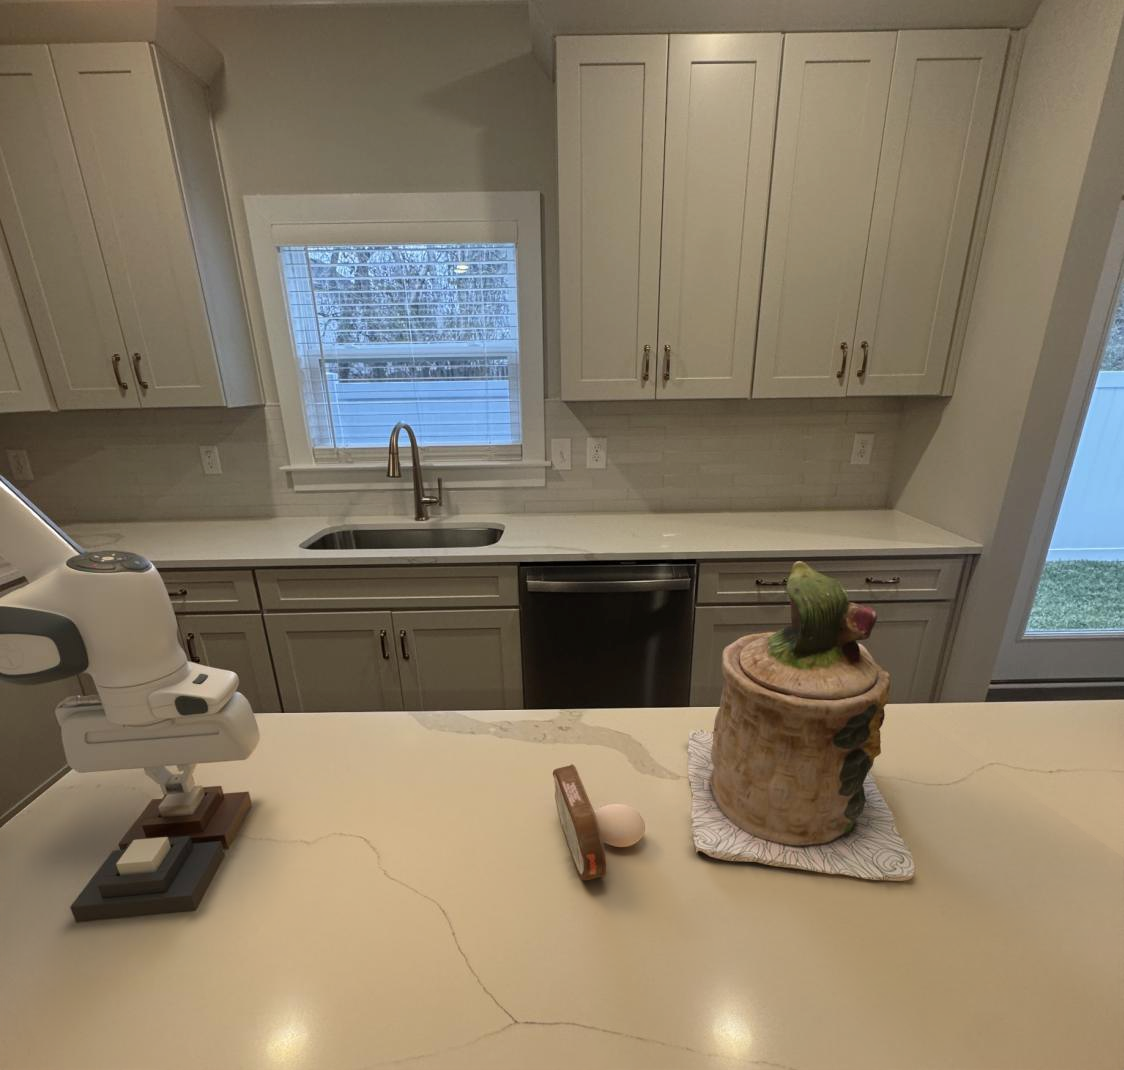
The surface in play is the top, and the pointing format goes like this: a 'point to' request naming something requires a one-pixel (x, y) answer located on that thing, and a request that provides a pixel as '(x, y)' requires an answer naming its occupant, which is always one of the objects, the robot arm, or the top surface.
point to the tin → (579, 823)
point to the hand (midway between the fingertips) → (179, 790)
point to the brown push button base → (195, 819)
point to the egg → (620, 825)
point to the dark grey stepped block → (151, 884)
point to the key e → (182, 803)
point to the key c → (144, 856)
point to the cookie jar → (799, 745)
